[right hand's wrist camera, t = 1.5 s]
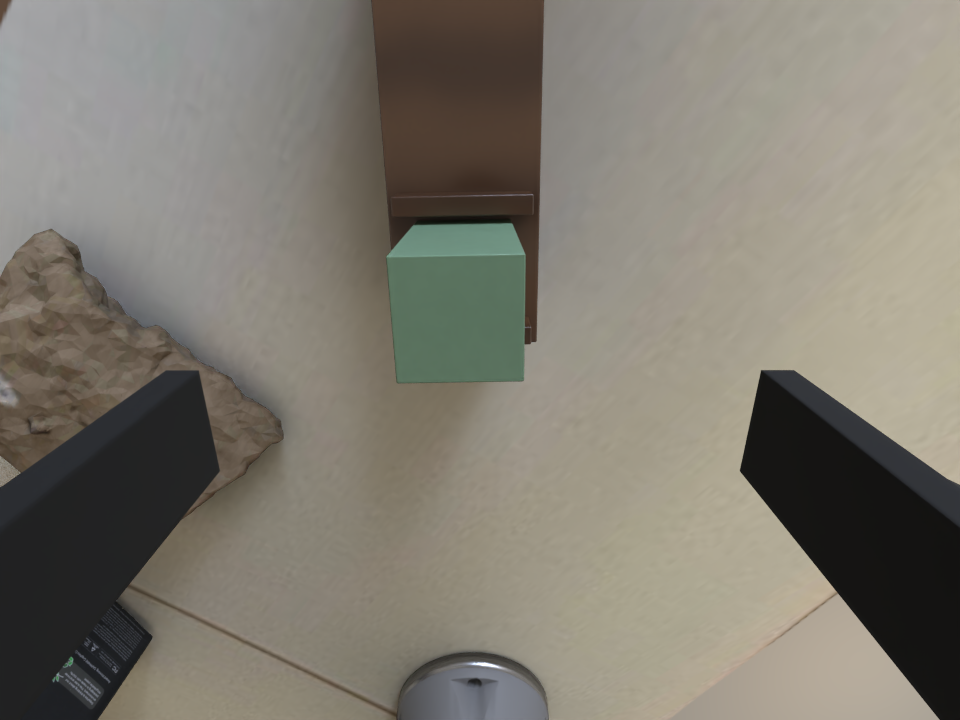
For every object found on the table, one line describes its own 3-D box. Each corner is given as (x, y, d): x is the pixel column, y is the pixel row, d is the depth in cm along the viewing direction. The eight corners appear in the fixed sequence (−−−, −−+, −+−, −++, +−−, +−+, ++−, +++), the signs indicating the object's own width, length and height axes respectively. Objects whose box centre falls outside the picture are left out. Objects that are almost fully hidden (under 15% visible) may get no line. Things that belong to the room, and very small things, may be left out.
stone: (-87, 366, 37) (-155, 400, 32) (60, 218, 37) (17, 228, 32) (176, 520, 47) (158, 567, 41) (297, 403, 46) (295, 435, 41)
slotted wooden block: (524, 300, 39) (540, 354, 29) (415, 302, 39) (393, 357, 29) (530, -154, 30) (556, -312, 19) (386, -150, 30) (337, -307, 19)
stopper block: (510, 309, 30) (523, 381, 21) (422, 311, 30) (396, 383, 21) (510, 218, 28) (525, 253, 19) (416, 220, 28) (385, 256, 19)
